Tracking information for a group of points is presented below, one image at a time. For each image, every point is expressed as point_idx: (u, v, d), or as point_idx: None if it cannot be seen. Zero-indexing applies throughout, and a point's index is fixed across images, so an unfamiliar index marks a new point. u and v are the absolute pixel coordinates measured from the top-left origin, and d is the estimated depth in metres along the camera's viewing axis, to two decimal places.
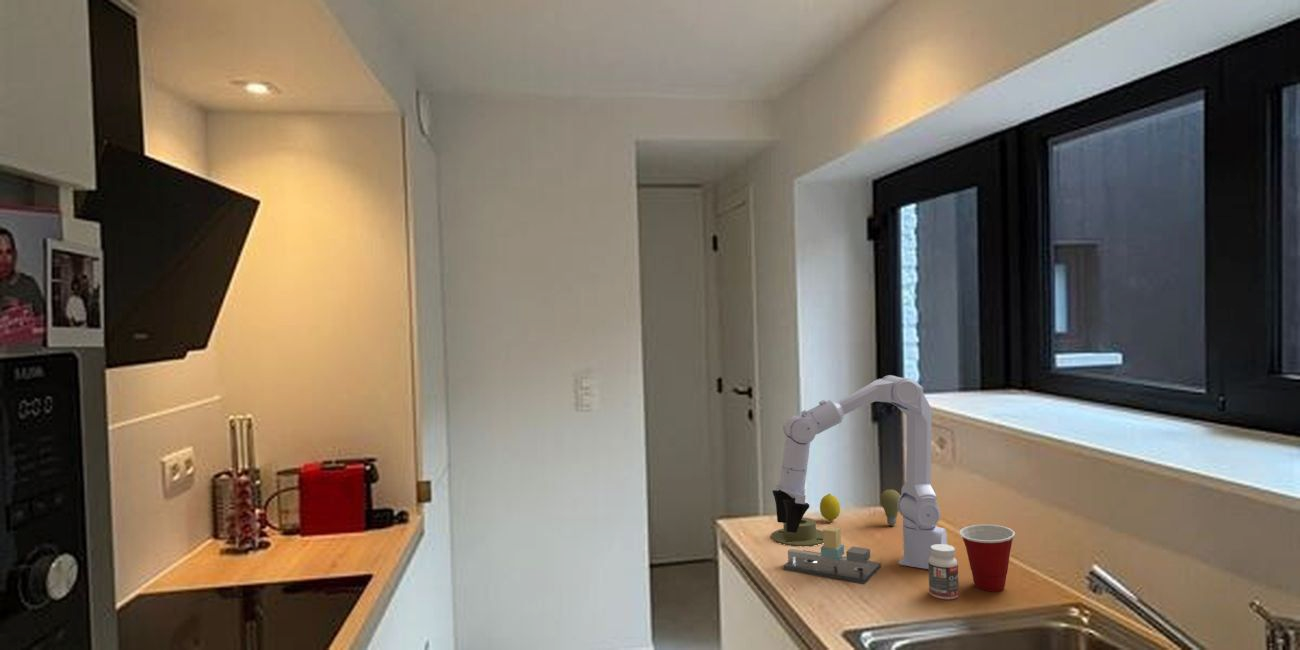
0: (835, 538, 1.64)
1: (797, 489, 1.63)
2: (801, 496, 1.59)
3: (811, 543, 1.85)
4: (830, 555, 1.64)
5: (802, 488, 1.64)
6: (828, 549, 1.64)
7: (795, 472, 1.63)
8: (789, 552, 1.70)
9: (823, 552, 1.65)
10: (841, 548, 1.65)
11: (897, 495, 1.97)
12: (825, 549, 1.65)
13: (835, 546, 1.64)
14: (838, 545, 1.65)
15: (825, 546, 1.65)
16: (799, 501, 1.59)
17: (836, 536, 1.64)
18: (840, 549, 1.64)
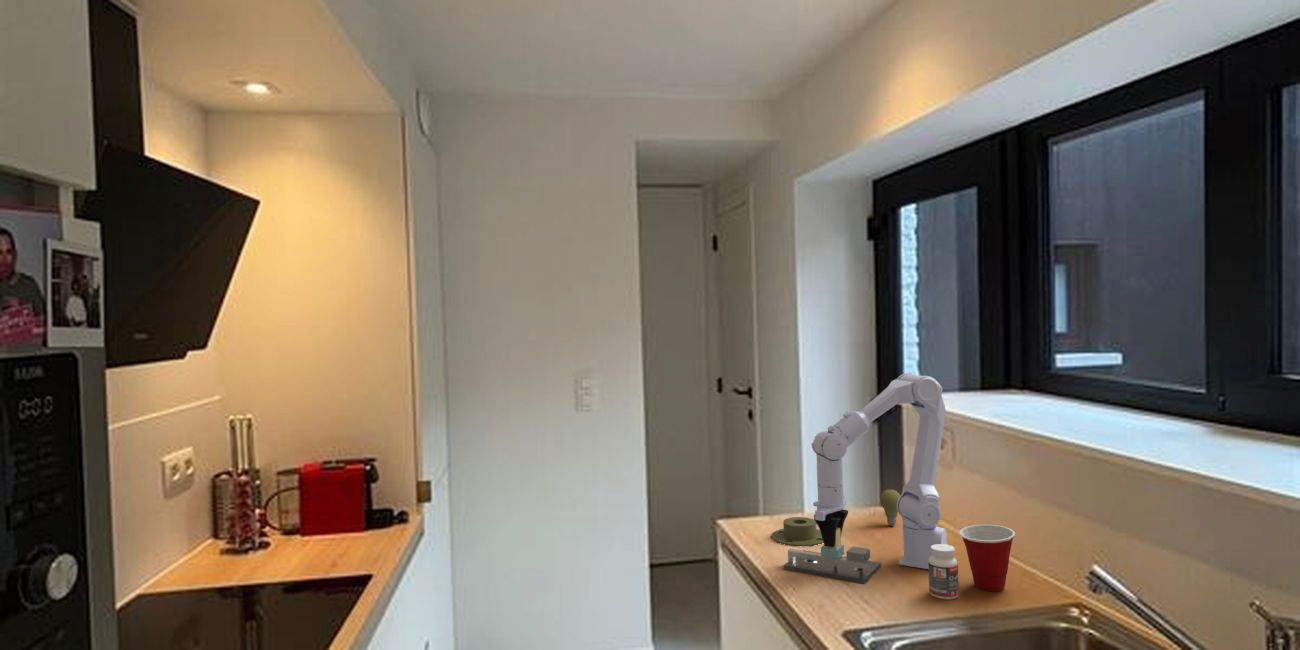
0: None
1: (828, 506, 1.63)
2: (819, 513, 1.60)
3: (811, 543, 1.85)
4: (830, 555, 1.64)
5: (835, 505, 1.63)
6: (828, 549, 1.64)
7: (823, 489, 1.64)
8: (789, 552, 1.70)
9: (823, 552, 1.65)
10: (841, 548, 1.65)
11: (897, 495, 1.97)
12: (825, 549, 1.65)
13: (835, 546, 1.64)
14: (838, 545, 1.65)
15: (825, 546, 1.65)
16: (818, 518, 1.60)
17: (836, 536, 1.64)
18: (840, 549, 1.64)
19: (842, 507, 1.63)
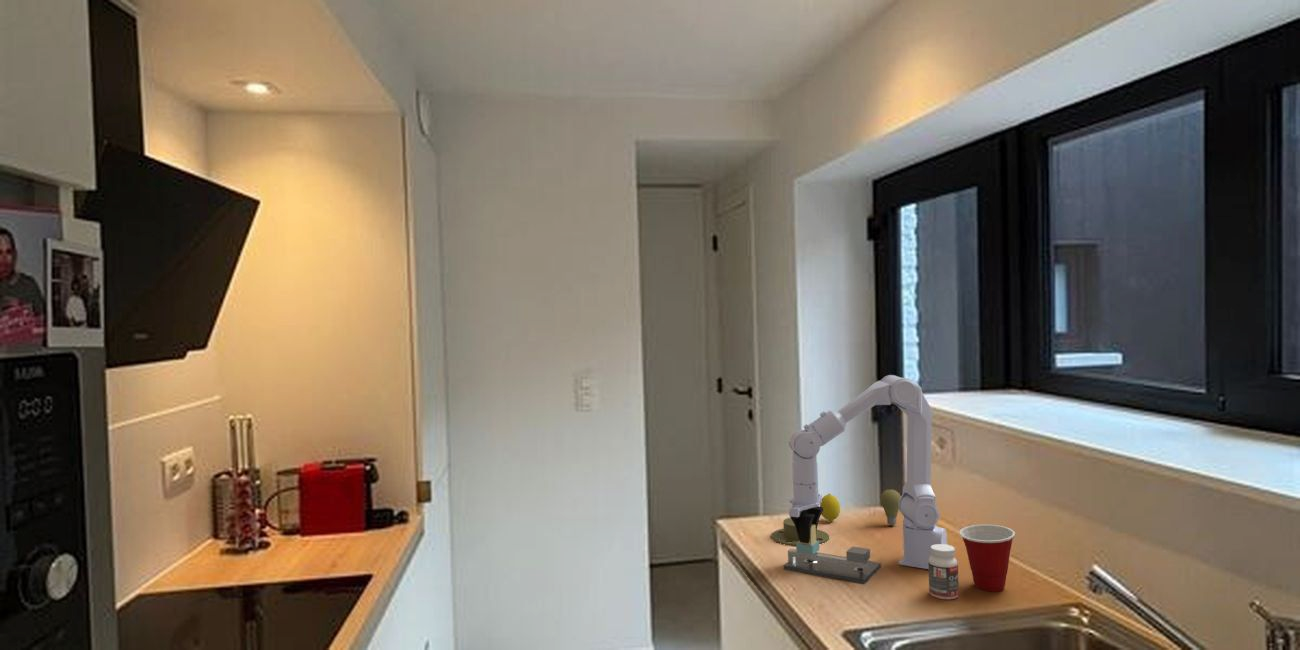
0: (810, 534, 1.67)
1: (803, 503, 1.66)
2: (793, 509, 1.63)
3: None
4: (805, 551, 1.67)
5: (809, 502, 1.66)
6: (803, 545, 1.68)
7: (798, 486, 1.67)
8: (789, 552, 1.70)
9: (798, 548, 1.68)
10: (816, 544, 1.68)
11: (897, 495, 1.97)
12: (800, 545, 1.68)
13: (810, 542, 1.67)
14: (813, 541, 1.68)
15: (800, 542, 1.68)
16: (792, 514, 1.63)
17: (811, 532, 1.67)
18: (815, 545, 1.68)
19: (817, 504, 1.67)
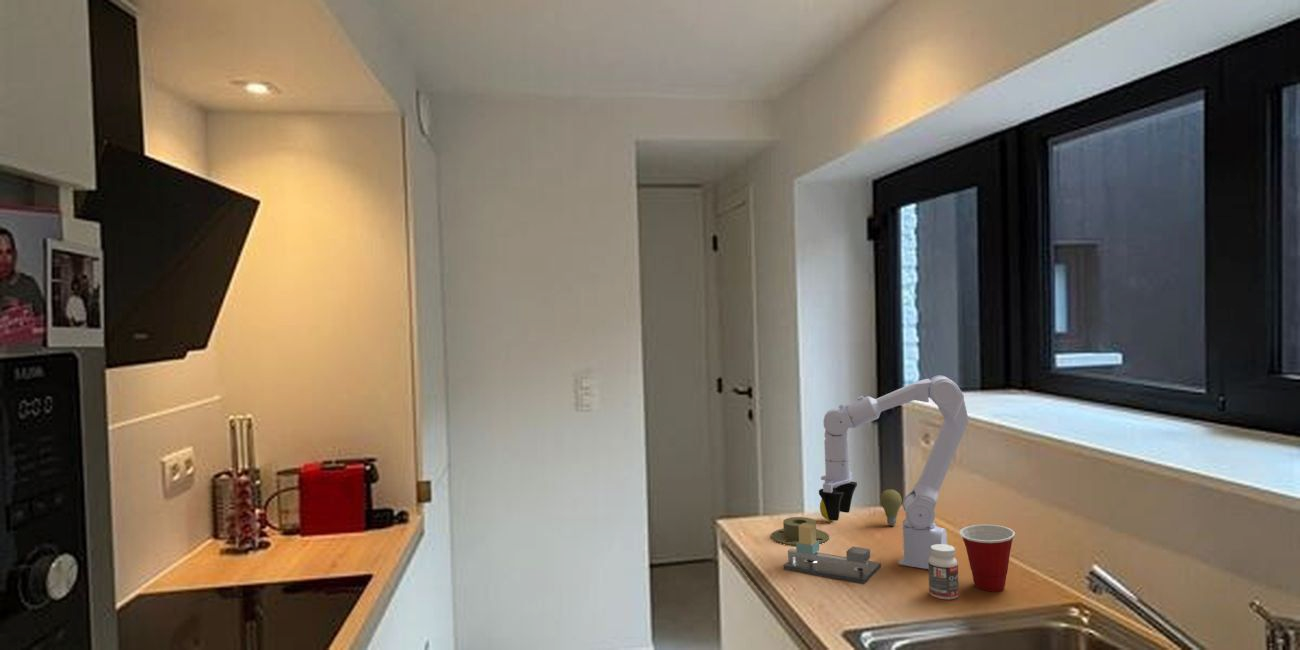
0: (810, 534, 1.67)
1: (835, 479, 1.71)
2: (827, 485, 1.68)
3: None
4: (805, 551, 1.67)
5: (841, 478, 1.71)
6: (803, 545, 1.68)
7: (831, 463, 1.72)
8: (789, 552, 1.70)
9: (798, 548, 1.68)
10: (816, 544, 1.68)
11: (897, 495, 1.97)
12: (800, 545, 1.68)
13: (810, 542, 1.67)
14: (813, 541, 1.68)
15: (800, 542, 1.68)
16: (826, 490, 1.68)
17: (811, 532, 1.67)
18: (815, 545, 1.68)
19: (849, 480, 1.72)
